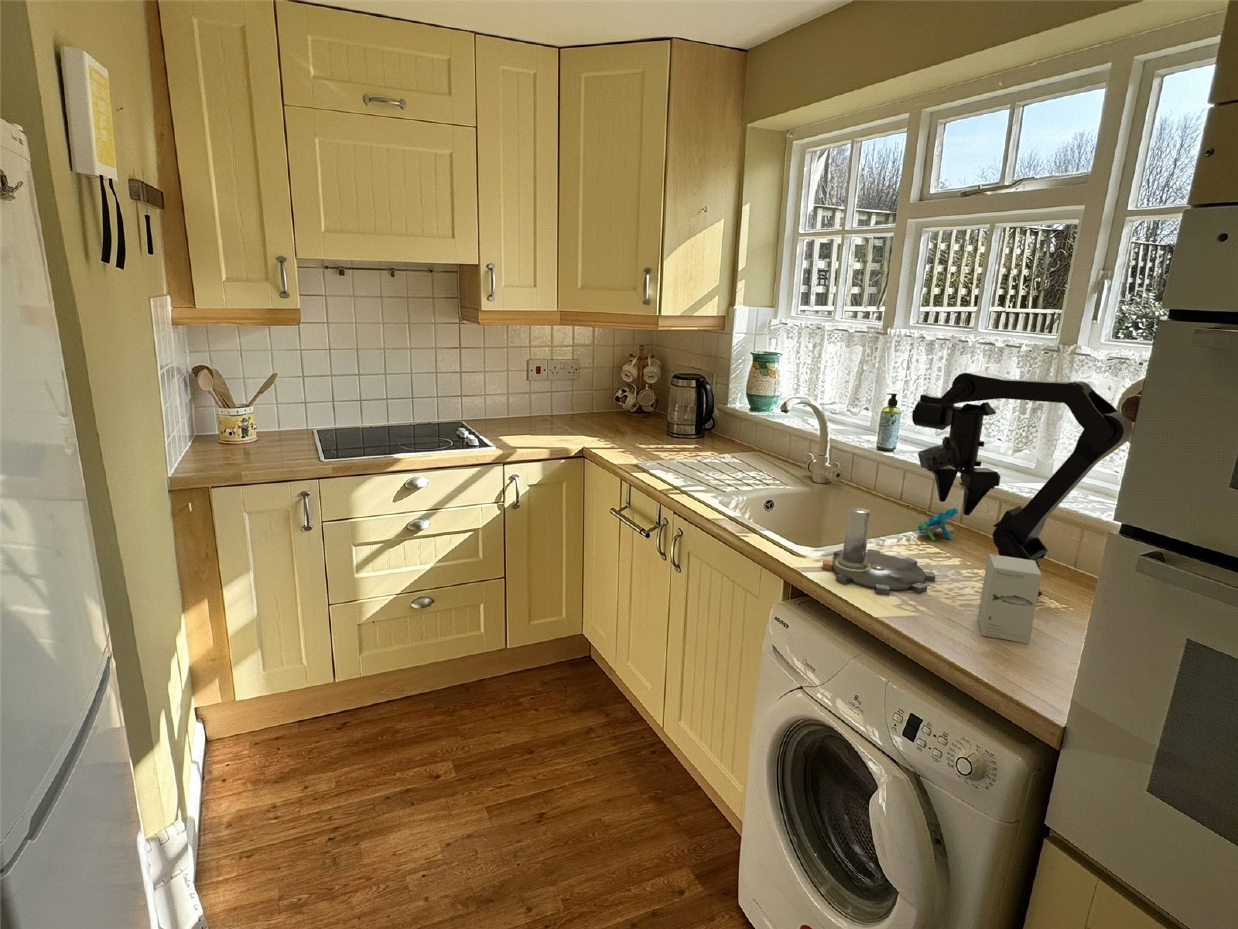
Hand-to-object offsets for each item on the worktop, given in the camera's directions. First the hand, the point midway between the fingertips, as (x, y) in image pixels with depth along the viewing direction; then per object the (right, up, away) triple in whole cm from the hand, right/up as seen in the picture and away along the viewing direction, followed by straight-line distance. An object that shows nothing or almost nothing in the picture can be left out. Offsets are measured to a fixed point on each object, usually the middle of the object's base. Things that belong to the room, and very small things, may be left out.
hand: (953, 508), depth 150 cm
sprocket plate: (-16, -13, -2) cm, 21 cm away
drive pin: (-21, -11, -1) cm, 24 cm away
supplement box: (-3, -20, -25) cm, 32 cm away
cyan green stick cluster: (+6, -8, +23) cm, 25 cm away
